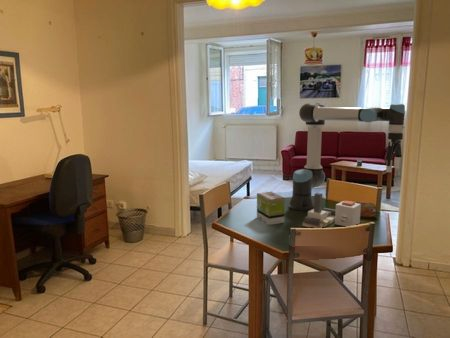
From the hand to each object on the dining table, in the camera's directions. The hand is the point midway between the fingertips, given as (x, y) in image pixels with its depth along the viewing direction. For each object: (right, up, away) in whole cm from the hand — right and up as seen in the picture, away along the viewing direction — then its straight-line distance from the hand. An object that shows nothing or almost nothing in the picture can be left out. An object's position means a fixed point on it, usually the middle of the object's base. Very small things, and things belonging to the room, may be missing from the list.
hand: (392, 170), depth 218 cm
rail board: (-41, -29, -3) cm, 50 cm away
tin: (-13, -27, +10) cm, 32 cm away
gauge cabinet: (-27, -29, -5) cm, 40 cm away
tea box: (-69, -29, +1) cm, 74 cm away
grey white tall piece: (-44, -27, -7) cm, 52 cm away
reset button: (-27, -20, -7) cm, 35 cm away
